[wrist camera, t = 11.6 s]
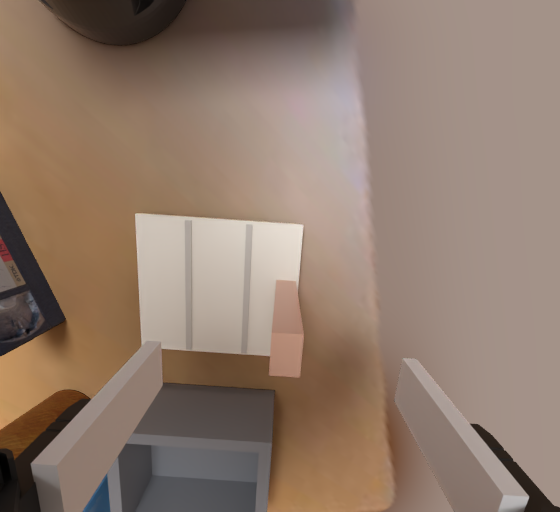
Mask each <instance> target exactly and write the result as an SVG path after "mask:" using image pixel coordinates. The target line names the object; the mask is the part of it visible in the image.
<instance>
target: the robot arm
mask: <svg viewBox="0 0 560 512" xmlns="http://www.w3.org/2000/svg"><path fill="white" fill-rule="evenodd" d="M39 1H40V2H41V3H42V4H43V5H44V6H45V7H46V8H47V9H49V10H50V11H51V12H52V13H53V14H55V15H56V16H57V17H58V18H59V19H61V20H62V21H63V22H64V23H66V24H67V25H68V26H69V27H71V28H72V29H73V30H75V31H77V32H78V33H80V34H82V35H83V36H85V37H87V38H90V39H92V40H95V41H98V42H101V43H106V44H113V45H128V44H134V43H138V42H141V41H144V40H147V39H149V38H151V37H153V36H155V35H156V34H158V33H159V32H161V31H162V30H163V29H164V28H166V27H167V26H168V25H169V24H170V23H171V22H172V21H173V20H174V18H175V17H176V16H177V14H178V13H179V12H180V10H181V9H182V7H183V5H184V3H185V1H186V0H39ZM162 386H163V378H162V352H161V342H159V341H146V342H145V343H144V344H143V345H142V346H141V348H140V349H139V350H138V351H137V352H136V353H135V354H134V355H133V356H132V357H131V358H130V359H129V360H128V361H127V362H126V363H125V364H124V365H123V367H122V368H121V369H120V370H119V371H118V372H117V373H116V374H115V375H114V376H113V377H112V378H111V379H110V380H109V381H108V382H107V383H106V385H105V386H104V387H103V388H102V389H101V390H100V391H99V392H98V393H97V394H96V395H95V396H94V397H93V398H92V399H81V400H79V401H77V402H76V403H74V404H73V405H71V406H69V407H68V408H67V409H66V410H65V411H64V412H63V413H62V414H61V415H60V416H59V417H58V418H56V420H55V422H52V423H51V424H50V425H49V426H48V427H47V428H46V430H45V431H43V432H42V433H41V434H40V435H39V436H38V437H37V438H36V439H35V440H34V441H33V442H32V443H31V444H30V445H29V446H28V447H27V448H26V449H25V450H24V451H23V452H22V453H21V454H20V455H19V456H18V457H17V458H16V459H15V460H14V456H13V452H12V451H11V450H9V449H7V448H2V449H0V512H82V511H83V510H84V508H85V507H86V505H87V504H88V502H89V500H90V499H91V497H92V496H93V494H94V493H95V491H96V489H97V488H98V486H99V485H100V483H101V482H102V480H103V478H104V477H105V475H106V474H107V472H108V471H109V469H110V467H111V466H112V464H113V463H114V461H115V460H116V458H117V456H118V455H119V453H120V452H121V450H122V449H123V447H124V445H125V444H126V442H127V441H128V439H129V438H130V436H131V435H132V433H133V431H134V430H135V428H136V427H137V425H138V424H139V422H140V420H141V419H142V417H143V416H144V414H145V413H146V411H147V409H148V408H149V406H150V405H151V403H152V402H153V400H154V398H155V397H156V395H157V394H158V392H159V391H160V389H161V387H162ZM394 402H395V404H396V406H397V407H398V409H399V411H400V413H401V415H402V417H403V419H404V420H405V422H406V424H407V426H408V428H409V430H410V431H411V433H412V435H413V437H414V439H415V441H416V443H417V444H418V446H419V448H420V450H421V452H422V454H423V455H424V457H425V459H426V461H427V463H428V465H429V467H430V468H431V470H432V472H433V474H434V476H435V478H436V479H437V481H438V483H439V485H440V487H441V489H442V490H443V492H444V494H445V496H446V498H447V500H448V502H449V504H450V505H451V507H452V509H453V511H454V512H560V508H559V507H557V506H554V505H553V504H552V503H551V502H550V501H549V500H548V499H547V497H546V496H545V495H544V494H543V493H542V492H541V491H540V489H539V488H538V487H537V486H536V485H535V484H534V483H533V482H532V480H531V479H530V478H529V477H528V476H527V475H526V473H525V472H524V471H523V470H522V469H521V468H520V467H519V465H518V464H517V463H516V462H514V461H513V459H512V458H511V456H510V455H509V454H508V453H507V452H506V451H504V449H503V447H502V446H501V445H500V444H499V443H498V441H497V440H496V439H495V438H494V437H493V436H492V435H491V434H490V433H489V432H487V431H486V430H485V429H483V428H482V427H481V426H480V425H478V424H469V423H468V421H467V420H466V419H465V418H464V416H463V415H462V414H461V413H460V411H459V410H458V409H457V408H456V407H455V405H454V404H453V403H452V402H451V400H450V399H449V398H448V397H447V396H446V394H445V393H444V392H443V391H442V389H441V388H440V387H439V386H438V385H437V383H436V382H435V381H434V380H433V379H432V377H431V376H430V375H429V374H428V372H427V371H426V370H425V369H424V368H423V367H422V365H421V364H420V363H419V361H418V360H417V359H408V358H402V363H401V368H400V373H399V379H398V383H397V388H396V393H395V399H394Z"/></svg>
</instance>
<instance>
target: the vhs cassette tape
mask: <svg viewBox="0 0 560 512" xmlns="http://www.w3.org/2000/svg"><path fill="white" fill-rule="evenodd" d="M65 319H66V318H65V316H64V314H63V312H62V310H61V308H60V306H59V304H58V302H57V300H56V298H55V296H54V294H53V292H52V290H51V288H50V286H49V284H48V282H47V280H46V278H45V277H44V275H43V273H42V271H41V269H40V267H39V265H38V263H37V261H36V259H35V257H34V255H33V253H32V251H31V250H30V248H29V246H28V244H27V242H26V240H25V238H24V236H23V234H22V232H21V230H20V228H19V226H18V224H17V223H16V221H15V219H14V217H13V215H12V213H11V211H10V209H9V207H8V205H7V204H6V202H5V200H4V198H3V196H2V194H1V192H0V356H2V355H4V354H6V353H8V352H10V351H12V350H13V349H15V348H17V347H19V346H21V345H23V344H25V343H27V342H29V341H30V340H32V339H34V338H35V337H37V336H39V335H41V334H43V333H44V332H46V331H48V330H50V329H52V328H53V327H55V326H57V325H58V324H60V323H62V322H64V320H65Z"/></svg>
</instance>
